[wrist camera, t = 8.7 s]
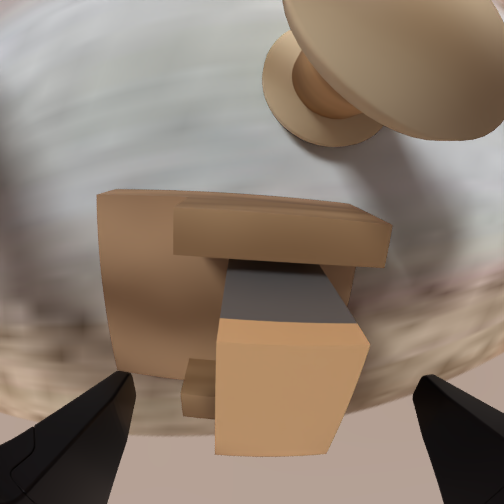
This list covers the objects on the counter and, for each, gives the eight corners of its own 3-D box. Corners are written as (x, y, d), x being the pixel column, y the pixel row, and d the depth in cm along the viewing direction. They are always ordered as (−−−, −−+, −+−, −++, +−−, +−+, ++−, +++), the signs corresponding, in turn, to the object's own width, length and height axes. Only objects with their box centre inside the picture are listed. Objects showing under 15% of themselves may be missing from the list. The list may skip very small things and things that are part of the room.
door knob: (266, 21, 11) (289, -102, 3) (386, 45, 11) (494, -21, 3) (257, 138, 12) (277, 104, 4) (383, 156, 13) (518, 169, 5)
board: (115, 189, 13) (65, 204, 9) (349, 203, 13) (392, 225, 9) (128, 348, 16) (101, 401, 11) (319, 362, 16) (337, 418, 12)
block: (224, 347, 13) (215, 454, 7) (229, 254, 12) (216, 341, 6) (299, 350, 13) (326, 453, 8) (316, 260, 12) (370, 345, 6)
